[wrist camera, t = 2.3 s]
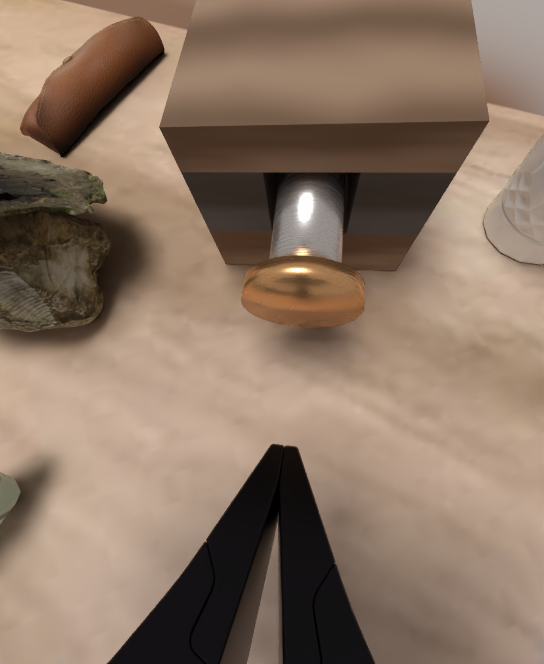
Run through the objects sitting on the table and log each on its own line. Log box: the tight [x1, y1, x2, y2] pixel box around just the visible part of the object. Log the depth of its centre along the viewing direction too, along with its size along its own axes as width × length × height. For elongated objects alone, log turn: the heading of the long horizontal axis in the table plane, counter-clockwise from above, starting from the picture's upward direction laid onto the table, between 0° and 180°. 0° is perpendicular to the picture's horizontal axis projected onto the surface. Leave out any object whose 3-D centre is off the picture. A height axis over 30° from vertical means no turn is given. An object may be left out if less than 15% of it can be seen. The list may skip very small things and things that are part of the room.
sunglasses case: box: [20, 17, 164, 155], centre depth 32 cm, size 18×7×7 cm
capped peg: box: [241, 172, 365, 328], centre depth 17 cm, size 12×6×6 cm, turn 174°
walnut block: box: [159, 0, 489, 271], centre depth 20 cm, size 12×14×12 cm
